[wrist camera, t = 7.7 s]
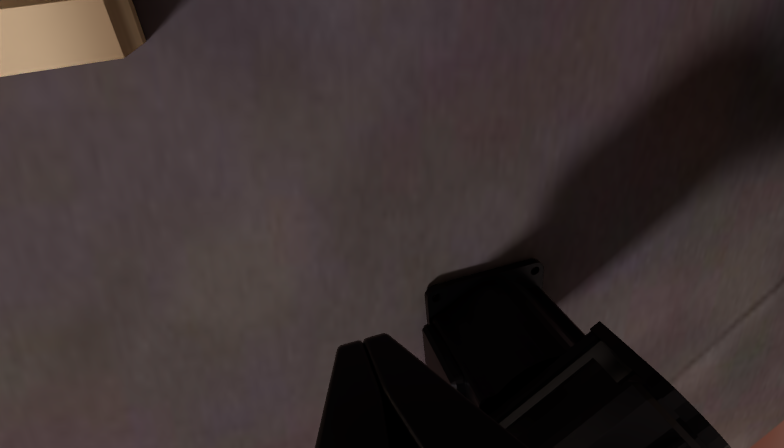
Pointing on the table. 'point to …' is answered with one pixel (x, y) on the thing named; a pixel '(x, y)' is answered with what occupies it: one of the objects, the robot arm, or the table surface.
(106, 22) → the cradle
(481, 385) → the robot arm
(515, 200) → the table surface
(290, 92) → the table surface
